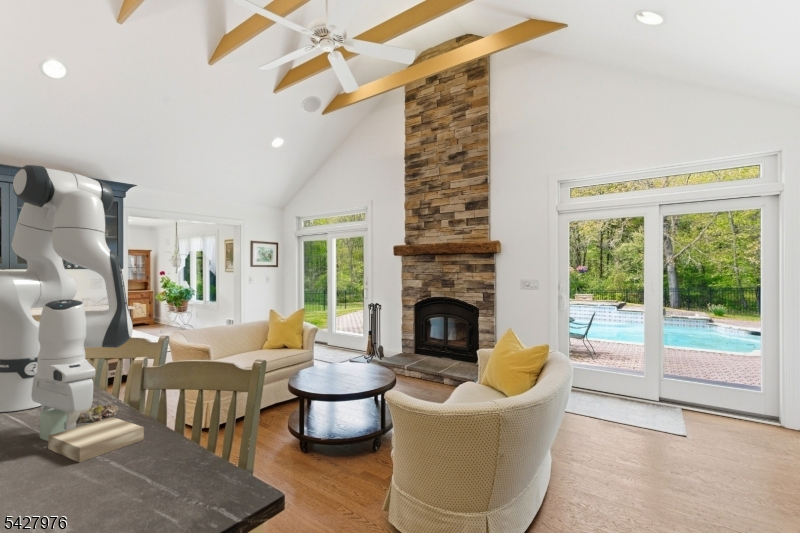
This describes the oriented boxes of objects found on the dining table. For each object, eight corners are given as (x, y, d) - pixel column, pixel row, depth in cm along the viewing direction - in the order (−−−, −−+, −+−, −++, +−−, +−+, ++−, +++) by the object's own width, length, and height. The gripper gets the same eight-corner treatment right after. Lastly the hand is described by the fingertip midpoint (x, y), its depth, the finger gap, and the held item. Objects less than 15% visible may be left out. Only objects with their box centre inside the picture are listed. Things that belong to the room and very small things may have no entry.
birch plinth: (48, 449, 88) (48, 435, 88) (112, 429, 100) (112, 417, 100) (79, 462, 82) (80, 448, 82) (143, 439, 94) (144, 427, 94)
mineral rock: (115, 401, 114) (119, 401, 108) (115, 417, 113) (120, 417, 107) (66, 411, 106) (68, 411, 101) (66, 428, 106) (68, 428, 100)
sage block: (39, 437, 94) (40, 412, 94) (65, 430, 98) (65, 406, 98) (50, 442, 91) (51, 416, 92) (75, 434, 96) (76, 409, 96)
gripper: (24, 365, 97) (21, 421, 97) (68, 376, 88) (65, 438, 88) (55, 360, 103) (53, 414, 102) (99, 370, 94) (97, 429, 93)
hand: (59, 425), depth 95 cm, fingers open, 8 cm apart
